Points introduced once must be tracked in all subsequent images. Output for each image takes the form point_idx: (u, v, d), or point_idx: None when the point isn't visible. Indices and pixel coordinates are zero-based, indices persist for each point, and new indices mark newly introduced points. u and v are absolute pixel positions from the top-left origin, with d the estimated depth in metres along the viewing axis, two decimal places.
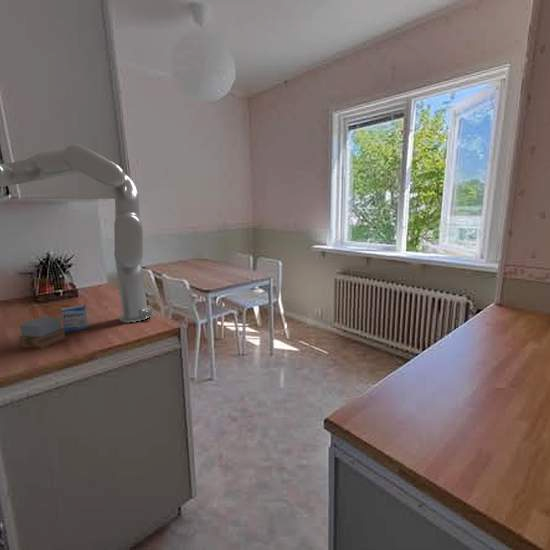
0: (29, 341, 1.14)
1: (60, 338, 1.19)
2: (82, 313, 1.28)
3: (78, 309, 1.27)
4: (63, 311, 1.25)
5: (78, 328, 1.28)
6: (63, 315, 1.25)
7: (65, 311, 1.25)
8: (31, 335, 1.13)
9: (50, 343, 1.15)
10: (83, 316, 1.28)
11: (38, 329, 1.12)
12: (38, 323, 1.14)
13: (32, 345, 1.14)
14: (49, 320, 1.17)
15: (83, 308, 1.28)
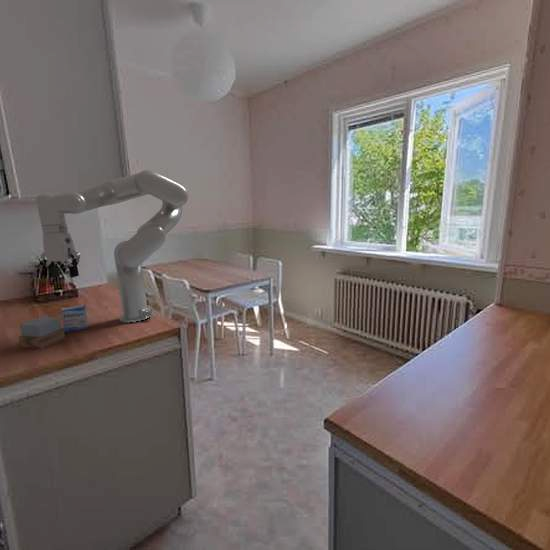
0: (29, 341, 1.13)
1: (59, 338, 1.19)
2: (82, 313, 1.28)
3: (78, 309, 1.27)
4: (63, 311, 1.25)
5: (78, 328, 1.28)
6: (63, 315, 1.25)
7: (65, 311, 1.25)
8: (31, 335, 1.13)
9: (50, 343, 1.15)
10: (83, 316, 1.28)
11: (38, 329, 1.12)
12: (38, 323, 1.14)
13: (32, 345, 1.13)
14: (49, 320, 1.17)
15: (83, 308, 1.28)
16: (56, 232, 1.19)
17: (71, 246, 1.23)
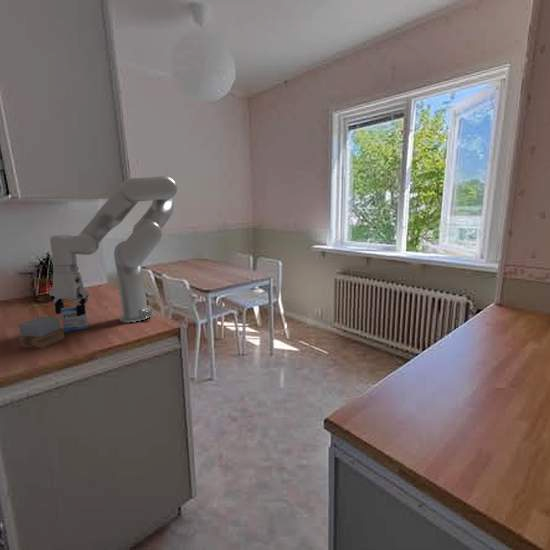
0: (28, 341, 1.13)
1: (59, 338, 1.19)
2: None
3: None
4: (63, 311, 1.25)
5: (78, 328, 1.28)
6: (63, 315, 1.25)
7: (65, 311, 1.26)
8: (30, 335, 1.13)
9: (49, 343, 1.15)
10: (83, 316, 1.29)
11: (37, 329, 1.12)
12: (37, 323, 1.14)
13: (31, 345, 1.13)
14: (48, 320, 1.17)
15: None
16: (67, 272, 1.22)
17: (80, 285, 1.26)
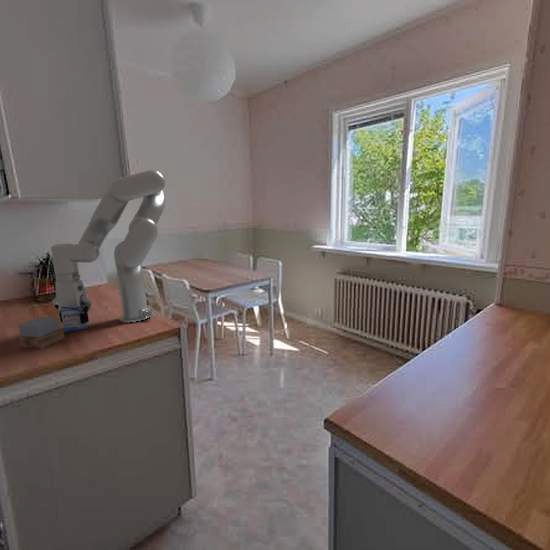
0: (28, 342, 1.13)
1: (59, 338, 1.19)
2: None
3: None
4: (63, 311, 1.25)
5: (78, 328, 1.28)
6: (63, 315, 1.25)
7: (65, 311, 1.25)
8: (30, 335, 1.14)
9: (49, 343, 1.15)
10: None
11: (37, 329, 1.12)
12: (37, 323, 1.14)
13: (31, 345, 1.13)
14: (48, 320, 1.17)
15: None
16: (69, 280, 1.23)
17: (83, 293, 1.27)
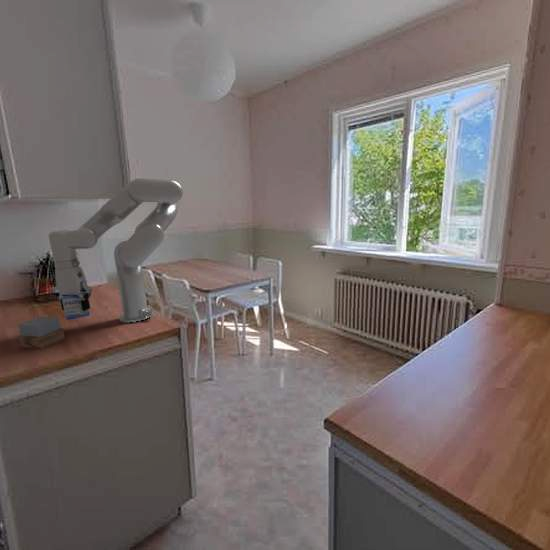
0: (28, 341, 1.13)
1: (59, 338, 1.19)
2: None
3: None
4: (64, 298, 1.25)
5: (80, 315, 1.28)
6: (64, 302, 1.25)
7: (66, 298, 1.25)
8: (30, 335, 1.13)
9: (49, 343, 1.15)
10: None
11: (37, 329, 1.12)
12: (37, 323, 1.14)
13: (31, 345, 1.13)
14: (48, 320, 1.17)
15: None
16: (69, 267, 1.22)
17: (83, 280, 1.26)
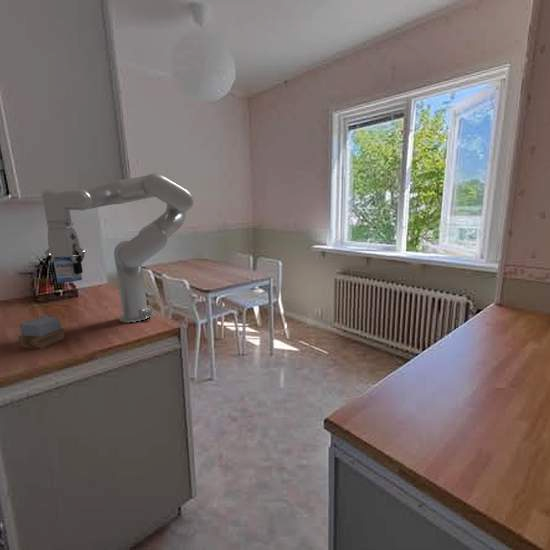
0: (28, 342, 1.13)
1: (59, 338, 1.19)
2: None
3: (71, 259, 1.24)
4: (56, 260, 1.22)
5: (72, 279, 1.25)
6: (56, 265, 1.22)
7: (58, 261, 1.22)
8: (31, 335, 1.14)
9: (49, 343, 1.15)
10: None
11: (37, 329, 1.12)
12: (38, 323, 1.14)
13: (31, 345, 1.13)
14: (49, 320, 1.17)
15: None
16: (62, 228, 1.20)
17: (76, 242, 1.23)
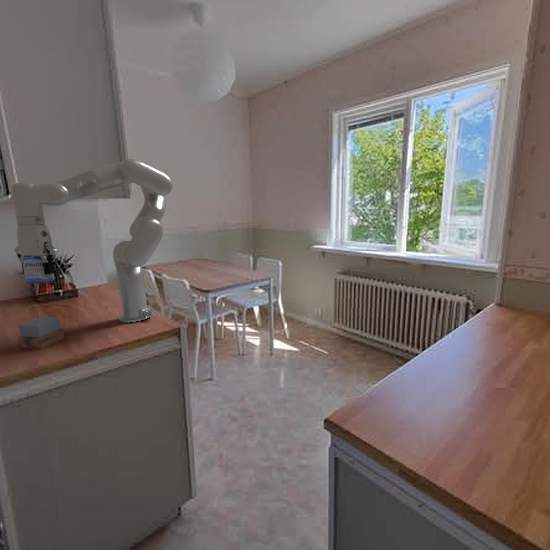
0: (28, 342, 1.13)
1: (59, 338, 1.19)
2: None
3: None
4: (25, 259, 1.12)
5: (42, 280, 1.15)
6: (24, 264, 1.12)
7: (27, 259, 1.12)
8: (30, 335, 1.13)
9: (49, 343, 1.15)
10: None
11: (37, 329, 1.12)
12: (37, 323, 1.14)
13: (31, 345, 1.13)
14: (48, 320, 1.17)
15: None
16: (32, 224, 1.10)
17: (48, 240, 1.13)
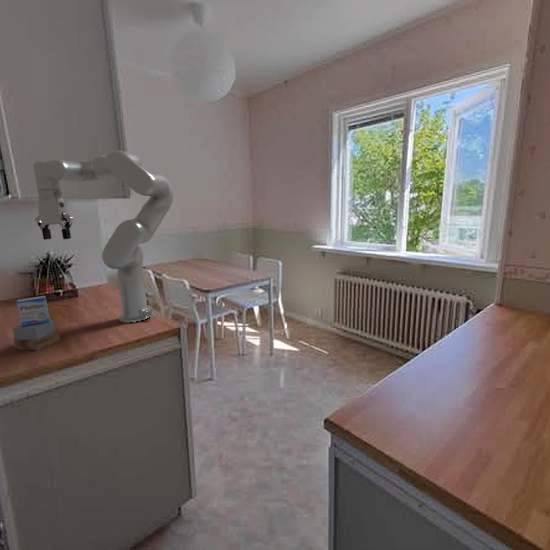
0: (23, 344, 1.12)
1: (55, 340, 1.18)
2: (42, 304, 1.14)
3: (37, 300, 1.13)
4: (19, 302, 1.10)
5: (38, 322, 1.14)
6: (20, 307, 1.10)
7: (22, 302, 1.11)
8: (26, 338, 1.11)
9: (45, 345, 1.14)
10: (43, 308, 1.14)
11: (34, 331, 1.11)
12: (33, 325, 1.12)
13: (26, 347, 1.12)
14: None
15: (43, 299, 1.14)
16: (51, 196, 1.30)
17: (64, 210, 1.33)
